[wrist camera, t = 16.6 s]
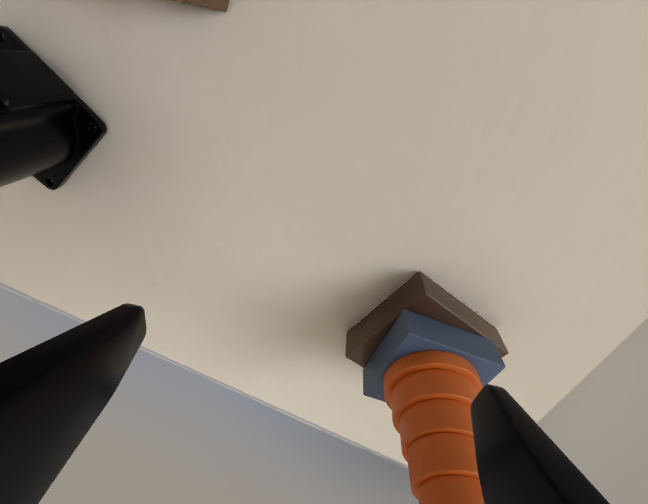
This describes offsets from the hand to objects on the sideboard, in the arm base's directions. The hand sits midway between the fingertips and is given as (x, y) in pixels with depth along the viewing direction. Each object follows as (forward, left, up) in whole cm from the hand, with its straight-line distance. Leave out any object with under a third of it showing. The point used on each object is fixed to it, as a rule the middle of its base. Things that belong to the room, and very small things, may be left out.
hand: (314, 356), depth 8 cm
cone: (-2, -13, -8) cm, 16 cm away
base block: (-2, -13, -13) cm, 18 cm away
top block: (-2, -13, -11) cm, 17 cm away
